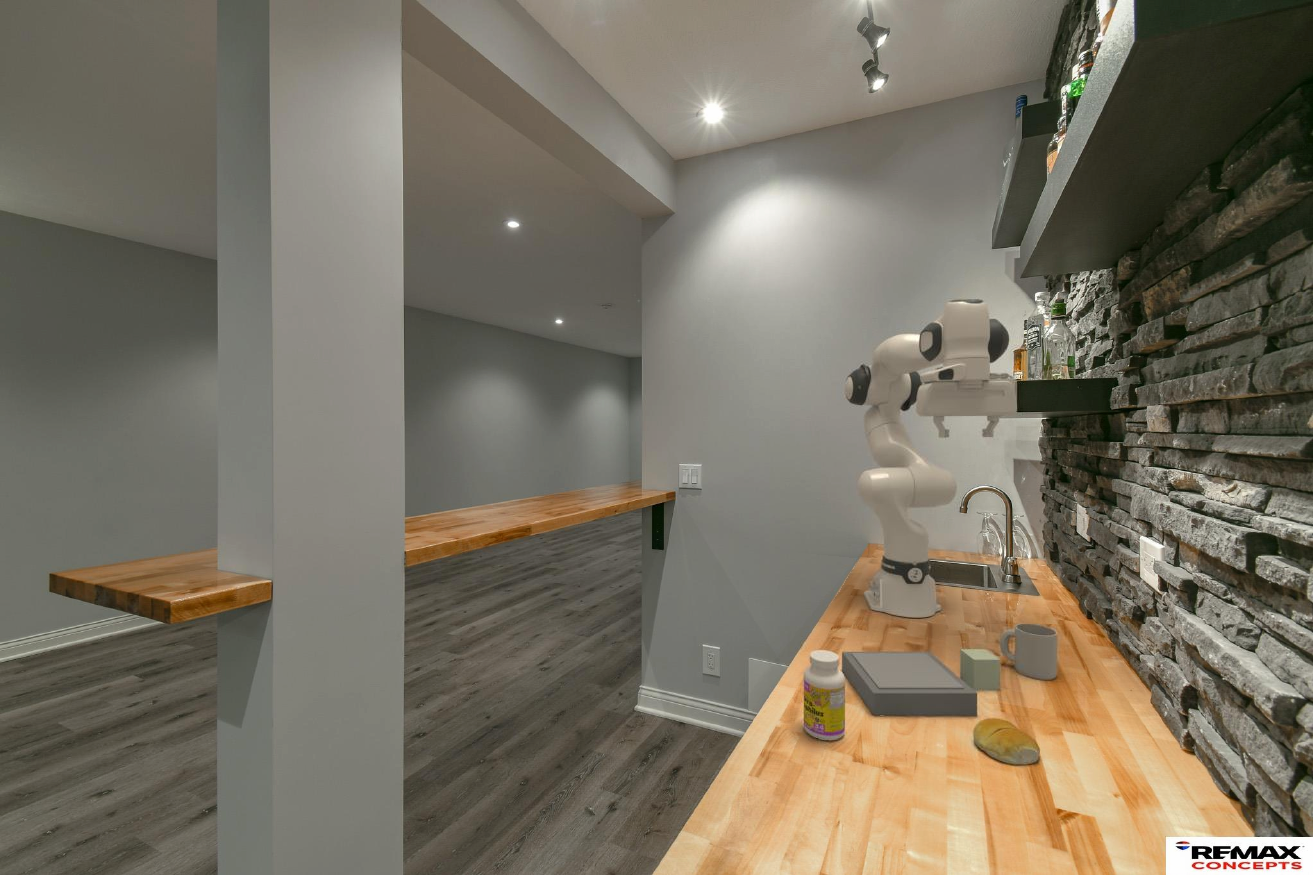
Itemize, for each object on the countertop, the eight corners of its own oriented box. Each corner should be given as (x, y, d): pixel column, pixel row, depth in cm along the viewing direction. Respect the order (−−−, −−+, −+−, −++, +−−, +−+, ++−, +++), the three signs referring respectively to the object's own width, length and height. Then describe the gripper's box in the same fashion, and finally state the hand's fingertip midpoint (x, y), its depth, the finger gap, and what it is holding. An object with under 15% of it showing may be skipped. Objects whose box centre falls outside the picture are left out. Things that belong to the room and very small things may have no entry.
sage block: (960, 678, 113) (960, 649, 113) (985, 678, 113) (985, 649, 113) (973, 690, 108) (973, 659, 108) (1000, 690, 108) (1000, 659, 108)
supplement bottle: (795, 725, 96) (795, 651, 96) (826, 717, 99) (826, 644, 99) (821, 746, 90) (821, 666, 90) (854, 736, 93) (854, 659, 92)
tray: (842, 670, 117) (842, 650, 117) (929, 670, 117) (929, 650, 117) (873, 715, 99) (873, 691, 99) (977, 715, 99) (977, 691, 99)
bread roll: (1006, 732, 94) (1006, 708, 94) (1050, 764, 85) (1050, 738, 85) (960, 735, 93) (960, 711, 93) (999, 768, 84) (999, 742, 84)
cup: (1054, 684, 111) (1054, 639, 110) (995, 669, 117) (996, 627, 117) (1059, 671, 116) (1059, 628, 116) (1003, 658, 123) (1003, 617, 122)
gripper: (1006, 374, 125) (1005, 436, 126) (912, 375, 126) (912, 437, 126) (1023, 371, 119) (1023, 437, 119) (925, 372, 119) (925, 438, 120)
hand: (965, 437), depth 123 cm, fingers open, 8 cm apart
